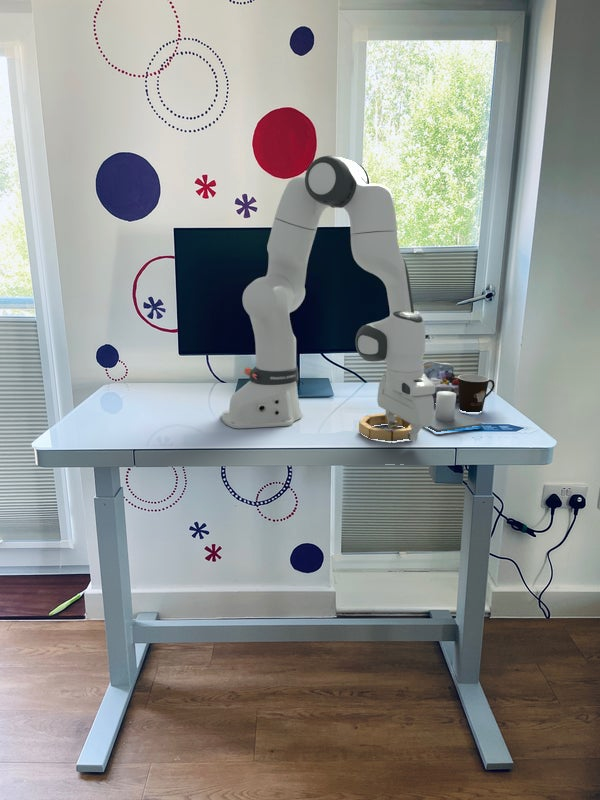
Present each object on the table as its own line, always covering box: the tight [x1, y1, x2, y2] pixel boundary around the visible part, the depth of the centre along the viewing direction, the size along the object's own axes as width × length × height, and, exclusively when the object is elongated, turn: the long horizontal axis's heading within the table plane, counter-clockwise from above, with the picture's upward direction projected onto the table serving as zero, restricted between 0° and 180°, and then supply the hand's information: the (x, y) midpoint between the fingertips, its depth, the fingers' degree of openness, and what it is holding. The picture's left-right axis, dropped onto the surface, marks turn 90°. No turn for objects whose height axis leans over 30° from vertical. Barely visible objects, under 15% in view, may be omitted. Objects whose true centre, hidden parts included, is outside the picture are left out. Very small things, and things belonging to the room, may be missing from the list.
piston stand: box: [428, 391, 484, 432], centre depth 157 cm, size 14×14×8 cm
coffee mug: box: [457, 373, 496, 412], centre depth 167 cm, size 12×9×10 cm
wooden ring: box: [358, 412, 412, 441], centre depth 150 cm, size 14×14×3 cm
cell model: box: [423, 360, 459, 404], centre depth 180 cm, size 13×11×20 cm
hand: (401, 433), depth 145 cm, fingers open, 8 cm apart
